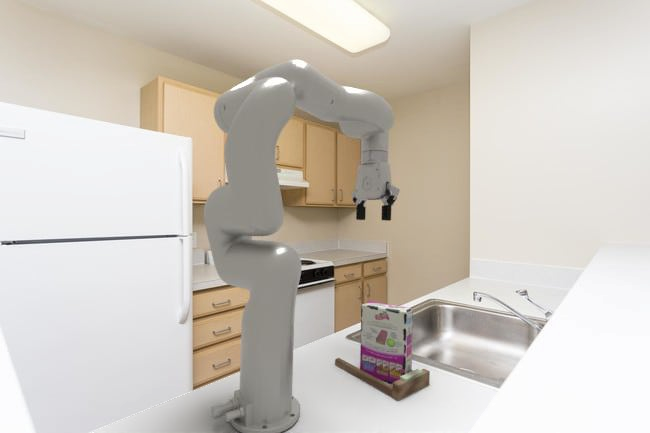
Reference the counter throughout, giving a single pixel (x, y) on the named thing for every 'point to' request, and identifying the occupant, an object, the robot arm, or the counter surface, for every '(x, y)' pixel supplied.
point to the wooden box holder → (398, 389)
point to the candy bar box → (386, 340)
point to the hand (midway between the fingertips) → (372, 220)
